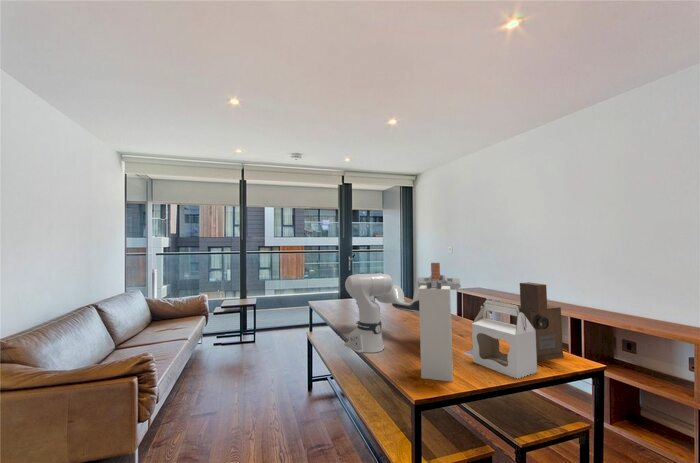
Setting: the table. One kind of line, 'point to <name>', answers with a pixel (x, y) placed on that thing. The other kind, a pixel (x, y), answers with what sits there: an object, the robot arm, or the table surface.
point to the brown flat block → (435, 274)
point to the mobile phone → (469, 352)
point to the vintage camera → (542, 320)
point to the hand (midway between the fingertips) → (437, 276)
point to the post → (435, 332)
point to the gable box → (518, 336)
